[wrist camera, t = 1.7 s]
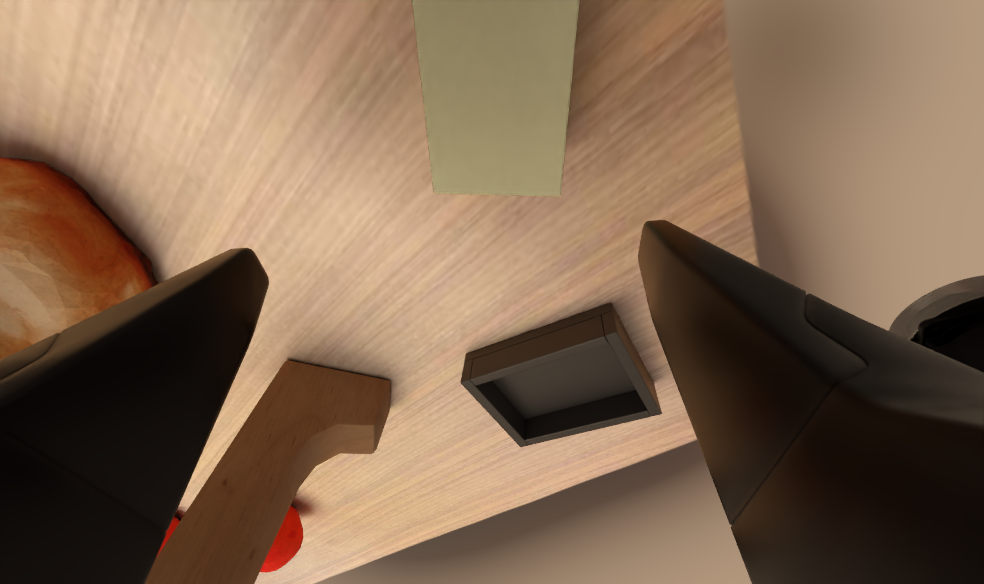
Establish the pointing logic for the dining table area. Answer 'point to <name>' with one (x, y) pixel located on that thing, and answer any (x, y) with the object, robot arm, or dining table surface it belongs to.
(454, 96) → the olive green block
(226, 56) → the dining table surface
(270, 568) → the apple
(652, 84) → the dining table surface
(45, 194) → the ceramic vessel
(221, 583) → the wooden block
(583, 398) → the mount
